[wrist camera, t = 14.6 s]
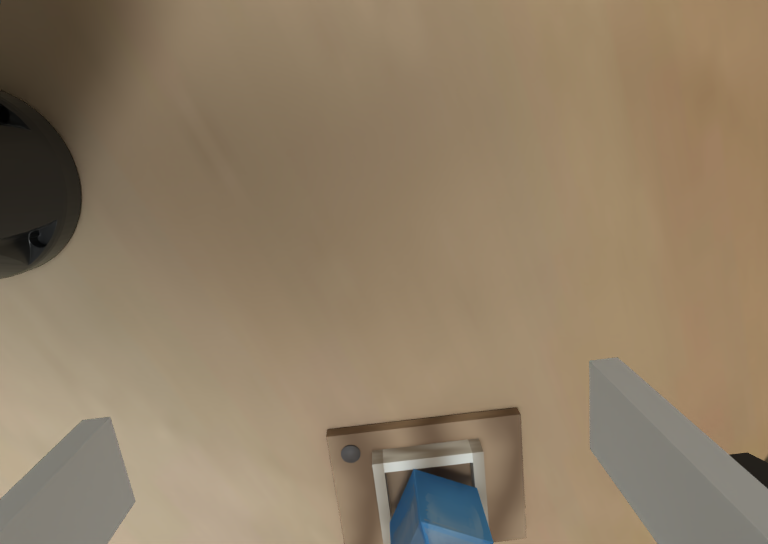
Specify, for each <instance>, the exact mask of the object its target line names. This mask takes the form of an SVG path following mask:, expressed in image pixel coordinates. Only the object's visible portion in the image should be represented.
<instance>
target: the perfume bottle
mask: <svg viewBox="0 0 768 544" xmlns="http://www.w3.org/2000/svg"><path fill="white" fill-rule="evenodd" d="M390 542H391V544H493V543H494V542H493V539H492V536H491V532H490V529H489V526H488V522H487V519H486V516H485V513H484V509H483V506H482V503H481V499H480V496H479V493H478V490H477V488H475V487H472V486H468V485H465V484H462V483H459V482H455V481H452V480H449V479H446V478H442V477H439V476H436V475H432V474H429V473H426V472H423V471H419V470H416V469H413V472H412V474H411V476H410V478H409V481H408V483H407V485H406V487H405V490H404V492H403V494H402V496H401V499H400V501H399V503H398V505H397V508H396V510H395V512H394V514H393V517H392V519H391V521H390Z"/></svg>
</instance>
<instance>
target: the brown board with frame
mask: <svg viewBox="0 0 768 544" xmlns="http://www.w3.org/2000/svg"><path fill="white" fill-rule="evenodd" d="M326 438H327V444H328V450H329V456H330V462H331V467H332V473H333V479H334V485H335V491H336V497H337V503H338V509H339V515H340V521H341V527H342V533H343V539H344V544H391V542H390V521H391V519H392V517H393V514H394V512H395V510H396V508H397V505H398V503H399V501H400V499H401V496H402V494H403V492H404V490H405V487H406V485H407V483H408V481H409V478H410V476H411V474H412V472H413V469H416V470H419V471H423V472H426V473H429V474H432V475H436V476H439V477H442V478H446V479H449V480H452V481H455V482H459V483H462V484H465V485H468V486H472V487H475V488H477V490H478V493H479V496H480V499H481V503H482V506H483V509H484V513H485V516H486V519H487V522H488V526H489V529H490V532H491V536H492V539H493V542H500V541H509V540H517V539H526V518H525V497H524V477H523V456H522V435H521V414H520V413H519V411H518V409H517V408H508V409H500V410H491V411H483V412H474V413H465V414H457V415H448V416H440V417H431V418H422V419H414V420H405V421H397V422H388V423H380V424H371V425H362V426H354V427H345V428H337V429H328V430H327V436H326Z"/></svg>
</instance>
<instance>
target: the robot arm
mask: <svg viewBox="0 0 768 544" xmlns="http://www.w3.org/2000/svg"><path fill="white" fill-rule="evenodd" d="M0 3H1V2H0ZM80 205H81V191H80V183H79V178H78V174H77V170H76V167H75V164H74V161H73V159H72V157H71V155H70V152H69V150H68V149H67V147H66V145H65V143H64V142H63V140H62V139H61V137H60V136H59V135H58V133H57V132H56V131H55V129H54V128H53V127H52V126H51V125H50V124H49V123H48V122H47V120H46V119H45V118H43V117H42V116H41V115H40V114H39V113H38V112H37V111H35V110H34V109H33V108H32V107H30V106H29V105H27V104H26V103H24V102H23V101H21V100H20V99H18V98H16V97H14V96H12V95H10V94H8V93H6V92H3V91H0V279H2V278H7V277H11V276H14V275H17V274H20V273H23V272H26V271H28V270H31V269H34V268H36V267H39V266H41V265H42V264H44V263H46V262H48V261H49V260H51V259H52V258H53V257H55V256H56V255H57V254H58V253H59V252H60V251H61V250H62V249H63V248H64V246H65V245H66V244H67V243H68V241H69V239H70V238H71V236H72V234H73V232H74V230H75V227H76V225H77V222H78V218H79V213H80ZM589 370H590V449H591V451H592V452H593V454H594V455H595V456H596V458H597V459H598V461H599V462H600V463H601V465H602V466H603V468H604V469H605V470H606V472H607V473H608V475H609V476H610V477H611V479H612V480H613V482H614V483H615V484H616V486H617V487H618V489H619V490H620V492H621V493H622V494H623V496H624V497H625V499H626V500H627V501H628V503H629V504H630V506H631V507H632V508H633V510H634V511H635V513H636V514H637V515H638V517H639V518H640V520H641V521H642V522H643V524H644V525H645V527H646V528H647V529H648V531H649V532H650V534H651V535H652V536H653V538H654V539H655V541H656V542H657V543H658V544H768V463H767V462H765V461H763V460H761V459H759V458H757V457H755V456H753V455H751V454H749V453H740V454H731V455H729V454H727V453H726V452H725V451H724V450H723V449H722V448H721V447H719V446H718V445H717V444H716V443H715V442H714V441H713V440H711V439H710V438H709V437H708V436H707V435H706V434H705V433H703V432H702V431H701V430H700V429H699V428H698V427H697V426H695V425H694V424H693V423H692V422H691V421H690V420H689V419H687V418H686V417H685V416H684V415H683V414H682V413H681V412H679V411H678V410H677V409H676V408H675V407H674V406H673V405H671V404H670V403H669V402H668V401H667V400H666V399H665V398H663V397H662V396H661V395H660V394H659V393H658V392H657V391H655V390H654V389H653V388H652V387H651V386H650V385H649V384H647V383H646V382H645V381H644V380H643V379H642V378H641V377H639V376H638V375H637V374H636V373H635V372H634V371H633V370H631V369H630V368H629V367H628V366H627V365H626V364H625V363H623V362H622V361H621V360H620V359H619V358H618V357H617V358H608V359H600V360H591V361H589ZM134 503H135V498H134V495H133V491H132V488H131V485H130V481H129V478H128V475H127V471H126V468H125V465H124V461H123V458H122V455H121V451H120V448H119V444H118V441H117V438H116V434H115V431H114V428H113V424H112V421H111V418H110V417H105V418H96V419H87V420H82V421H81V422H80V423H79V424H78V425H77V426H76V427H75V428H74V429H73V430H72V431H71V432H70V433H68V434H67V435H66V436H65V437H64V438H63V439H62V440H61V441H60V442H59V443H58V444H57V445H56V446H55V447H54V448H53V449H52V450H51V451H50V452H49V453H48V454H47V455H46V456H45V457H43V458H42V459H41V460H40V461H39V462H38V463H37V464H36V465H35V466H34V467H33V468H32V469H31V470H30V471H29V472H28V473H27V474H26V475H25V476H24V477H23V478H22V479H21V480H20V481H18V482H17V483H16V484H15V485H14V486H13V487H12V488H11V489H10V490H9V491H8V492H7V493H6V494H5V495H4V496H3V497H2V498H1V499H0V544H108V542H109V541H110V539H111V538H112V536H113V535H114V533H115V532H116V530H117V529H118V527H119V525H120V524H121V522H122V521H123V519H124V518H125V516H126V515H127V513H128V512H129V510H130V509H131V507H132V506H133V504H134Z"/></svg>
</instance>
